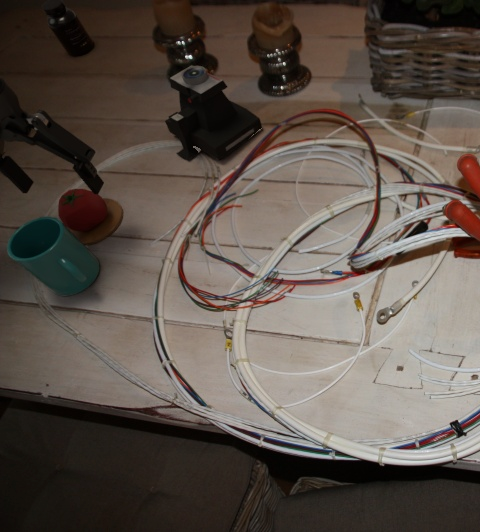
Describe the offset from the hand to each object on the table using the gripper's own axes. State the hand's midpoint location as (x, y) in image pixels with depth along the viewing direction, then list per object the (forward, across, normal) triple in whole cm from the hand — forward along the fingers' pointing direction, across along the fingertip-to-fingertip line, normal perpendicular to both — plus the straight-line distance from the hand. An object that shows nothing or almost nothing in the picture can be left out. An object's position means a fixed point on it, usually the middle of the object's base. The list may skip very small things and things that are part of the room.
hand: (63, 188), depth 96 cm
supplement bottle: (+10, -28, +56) cm, 63 cm away
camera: (+10, +17, +23) cm, 30 cm away
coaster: (+9, 0, 0) cm, 9 cm away
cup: (+9, +3, -13) cm, 17 cm away
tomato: (+9, 0, 0) cm, 9 cm away
